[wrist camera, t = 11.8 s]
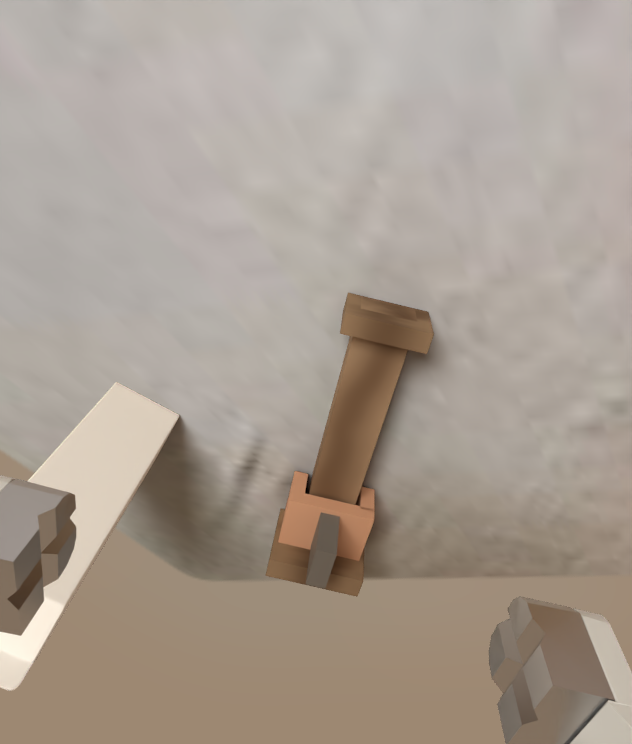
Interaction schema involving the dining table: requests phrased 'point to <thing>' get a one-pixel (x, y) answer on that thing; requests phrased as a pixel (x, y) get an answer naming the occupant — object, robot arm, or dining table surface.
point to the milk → (90, 502)
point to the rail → (355, 421)
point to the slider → (326, 527)
